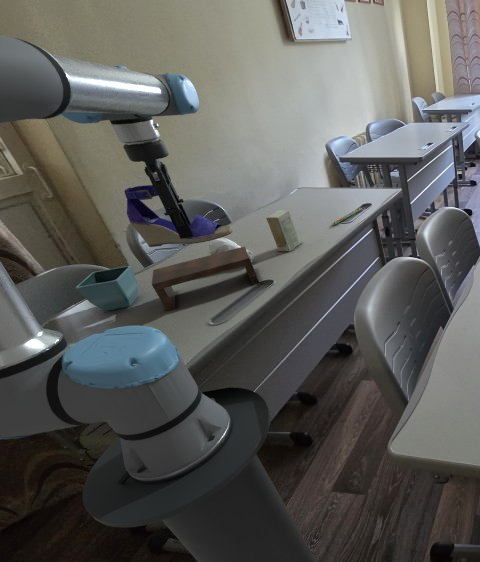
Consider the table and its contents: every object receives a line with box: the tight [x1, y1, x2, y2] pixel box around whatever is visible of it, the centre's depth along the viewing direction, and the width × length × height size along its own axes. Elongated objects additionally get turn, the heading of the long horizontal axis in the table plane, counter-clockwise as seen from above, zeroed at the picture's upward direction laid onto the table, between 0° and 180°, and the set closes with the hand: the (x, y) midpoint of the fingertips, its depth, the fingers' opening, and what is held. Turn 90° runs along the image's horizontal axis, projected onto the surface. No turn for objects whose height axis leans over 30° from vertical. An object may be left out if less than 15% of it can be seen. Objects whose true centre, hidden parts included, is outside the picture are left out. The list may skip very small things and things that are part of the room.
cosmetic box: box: [265, 209, 301, 252], centre depth 131 cm, size 6×4×12 cm
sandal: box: [124, 184, 233, 248], centre depth 102 cm, size 8×20×15 cm, turn 103°
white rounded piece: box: [208, 237, 255, 264], centre depth 124 cm, size 6×8×12 cm
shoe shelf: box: [151, 246, 260, 311], centre depth 111 cm, size 22×10×8 cm, turn 126°
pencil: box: [330, 207, 362, 227], centre depth 155 cm, size 1×1×18 cm
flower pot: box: [75, 265, 139, 312], centre depth 105 cm, size 9×9×9 cm
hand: (186, 232), depth 104 cm, fingers closed on sandal, 7 cm apart
